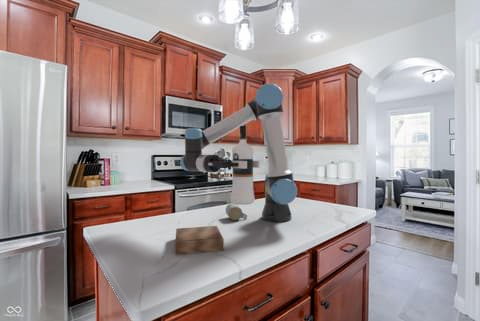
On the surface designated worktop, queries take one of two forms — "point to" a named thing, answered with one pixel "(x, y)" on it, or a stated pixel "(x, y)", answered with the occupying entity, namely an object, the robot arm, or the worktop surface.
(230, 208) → the ceramic mug
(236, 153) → the vodka
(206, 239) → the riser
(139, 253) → the worktop surface
